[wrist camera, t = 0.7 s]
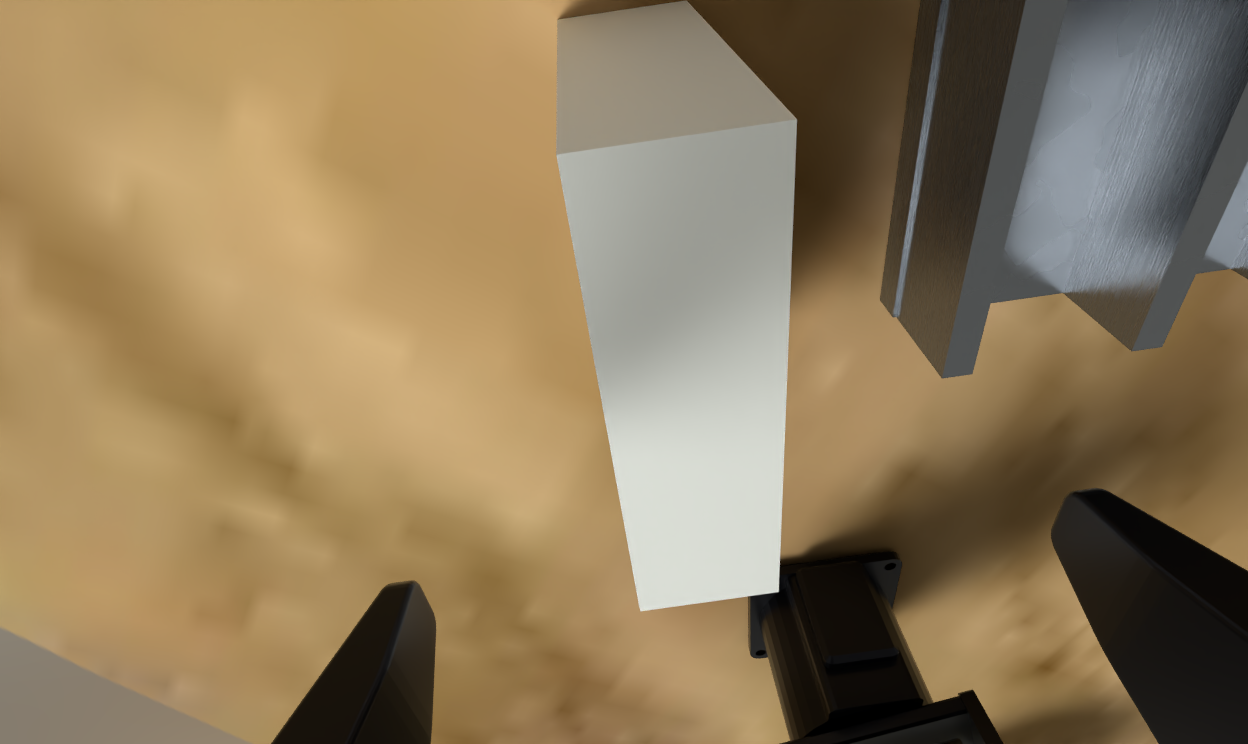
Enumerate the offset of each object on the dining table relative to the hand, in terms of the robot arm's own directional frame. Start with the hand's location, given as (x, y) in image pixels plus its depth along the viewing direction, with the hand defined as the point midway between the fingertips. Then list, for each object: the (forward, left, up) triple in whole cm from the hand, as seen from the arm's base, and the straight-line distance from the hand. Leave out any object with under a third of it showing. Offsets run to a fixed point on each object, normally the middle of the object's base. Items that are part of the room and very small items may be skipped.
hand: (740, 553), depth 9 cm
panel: (0, 0, -12) cm, 12 cm away
